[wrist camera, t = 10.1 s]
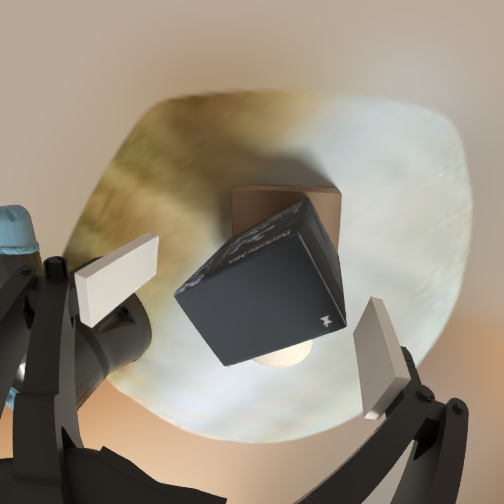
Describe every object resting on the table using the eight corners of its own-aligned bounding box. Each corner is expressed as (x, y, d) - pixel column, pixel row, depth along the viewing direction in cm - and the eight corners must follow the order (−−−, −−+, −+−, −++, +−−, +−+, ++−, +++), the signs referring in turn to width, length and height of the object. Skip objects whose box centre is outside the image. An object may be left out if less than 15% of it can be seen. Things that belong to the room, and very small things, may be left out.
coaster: (232, 351, 34) (231, 354, 34) (246, 295, 31) (245, 297, 30) (299, 371, 33) (298, 374, 32) (323, 317, 29) (323, 320, 29)
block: (247, 267, 30) (234, 287, 26) (246, 184, 27) (231, 190, 23) (330, 273, 28) (332, 296, 24) (337, 187, 25) (341, 194, 21)
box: (308, 194, 21) (300, 230, 11) (339, 255, 22) (351, 330, 13) (227, 237, 24) (168, 295, 14) (260, 290, 25) (224, 371, 15)
